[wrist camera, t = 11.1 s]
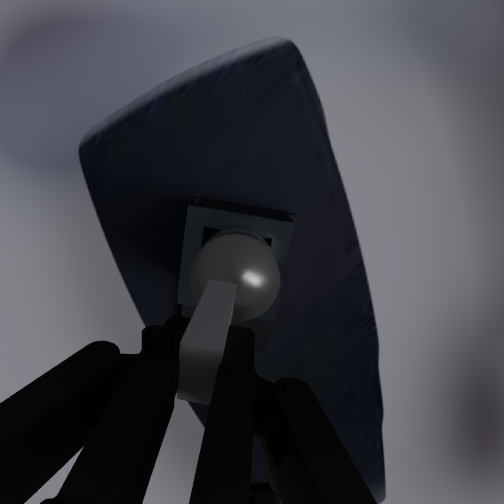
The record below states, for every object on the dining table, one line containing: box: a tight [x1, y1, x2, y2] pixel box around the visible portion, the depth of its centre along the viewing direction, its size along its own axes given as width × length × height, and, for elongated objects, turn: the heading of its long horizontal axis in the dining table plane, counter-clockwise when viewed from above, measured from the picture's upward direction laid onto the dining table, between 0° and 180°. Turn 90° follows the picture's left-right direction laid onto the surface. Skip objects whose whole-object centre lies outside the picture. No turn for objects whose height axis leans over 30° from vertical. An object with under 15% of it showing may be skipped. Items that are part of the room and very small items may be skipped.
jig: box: [177, 197, 296, 355], centre depth 29 cm, size 16×10×7 cm, turn 170°
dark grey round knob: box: [190, 228, 280, 322], centre depth 25 cm, size 6×6×10 cm
